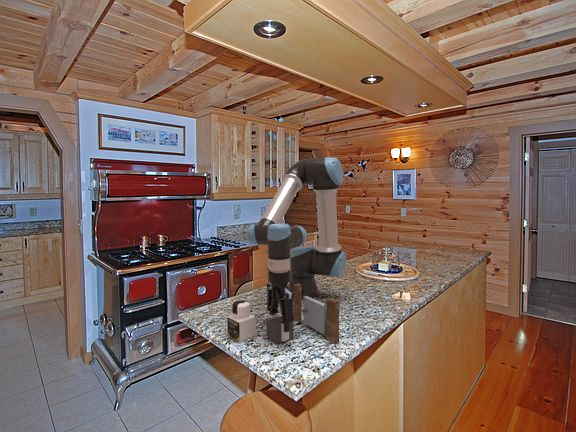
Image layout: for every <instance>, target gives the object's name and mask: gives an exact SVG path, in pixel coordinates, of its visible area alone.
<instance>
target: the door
mask: <svg viewBox="0 0 576 432" xmlns="http://www.w3.org/2000/svg"><path fill="white" fill-rule="evenodd" d="M302 301H303V302H302V303H303V305H302V306H303V308H302V316H303V317H302V318H303V324H305V325H307V326H308V327H310V328H312V329H313V330H315V331H317V332H318V333H320V334H322V335H323V337H325V338H326V312H327V303H323V302H321V301H319V300H317V299H315V298H313V297H312V298H310V297H308V296H304V297H303V300H302Z"/></svg>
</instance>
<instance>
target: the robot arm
mask: <svg viewBox="0 0 576 432" xmlns="http://www.w3.org/2000/svg"><path fill="white" fill-rule="evenodd" d="M344 174H345V173H344V168H343V165H342V162H341V161H340V159H338V158H337V157H329V156H328V157H316V158H303V159H301V160H298V161H297V162H295V163H294V164H293V165H291V166H290V167H289V168H288V169H287V170H286V172H285V173H284V174H283V176H282V178H281V184H280V185H279V188H278V189H277V191H276V192H275V194H274V196H273V198H272V199H271V201H270V203H269V205H268V206H267V208H266V210H264V213H263V215H262V216H261V218H260V220H259V222H258V223H256V224H251V225H249V226H248V228H247V230H246V239H247V241H248V242H249V243H250V244H253V245H258V246H267V269H268V272H267V279H268V280H267V281H268V283H266V298H267V299H266V311H267V312H269V315H270V319H273V318H277V317H280V316H279V314H281V316H282V322H281V341H282V342H281V343H283V342H287V341H289V323H290V322H293V323H294V321H295V320H294V296H293V295H294V293H293V285H294V284H301V285H302V299H303V297H304V296H308V297H310V298H312V299H313V298H315V297H317V296H318V295H319V288H318V284H317V281H316V278H315V275H317V276H324V277H330V278H332V277H333V278H340V277H341V276H342V275H343V273H344V272H345V269H346V264H347V253H346V252H344V251H342V246H341V244H339V239H338V238H339V237H338V234H339V233H338V210H337V209H338V208H337V207H338V206H337V192H338V191H339V189H340V185H342V184H343V183H344V176H345V175H344ZM307 185H308V186H312V190H313V192H315V195H316V207H317V210H316V211H317V227H318V228H317V229H318V245H317V246H316V247H315V245H304V244H305V243H306V241H307V239H308V233H307V231H306V229H305V228H304V227H302V226H300V225H292V226H291V225H290V224H288V223H281V222H282V221H283V219H284V217H285V215H286V213H287V211H288V210H289V208H290V206H291V204H292V202H293V200H294V198H295V197H296V194H297V193H298V192H299V191H301V190H302V189H303V187H304V186H307ZM279 308H280V313H279V310H278V309H279Z"/></svg>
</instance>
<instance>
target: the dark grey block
mask: <svg viewBox="0 0 576 432" xmlns="http://www.w3.org/2000/svg"><path fill="white" fill-rule="evenodd" d="M265 321H266V323H265V324H266V338H267V339H269V340H270V341H271V342H272V343H274V344H275V345H277V344H280V343H283V342H282V341H281V322H282V315H281V316H279V317H277V318H273V319H271V318H268V319H266V320H265ZM293 339H294V321H293V322H290V323H289V340H293ZM289 340H288V341H289Z"/></svg>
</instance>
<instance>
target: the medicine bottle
mask: <svg viewBox="0 0 576 432" xmlns="http://www.w3.org/2000/svg"><path fill="white" fill-rule="evenodd" d="M231 306H232V307H231V309H232V314H230V315H227V318H226V321H227V325H226V328H227V336H228V337H229V338H231V339H233V340H235V341H236V342H238V343H242V342H243V341H246V340H249V339H250V338H253V337H255V336H256V335H257V331H256V330H257V329H256V327H257V324H256V322H257V321H256V320H257V319H256V316H255V315H254V314H252V313H251V303H250V302H249V301H247V300H244V299H243V300H241V299H240V300H237V301H234V302H233V303H232V305H231Z"/></svg>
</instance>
